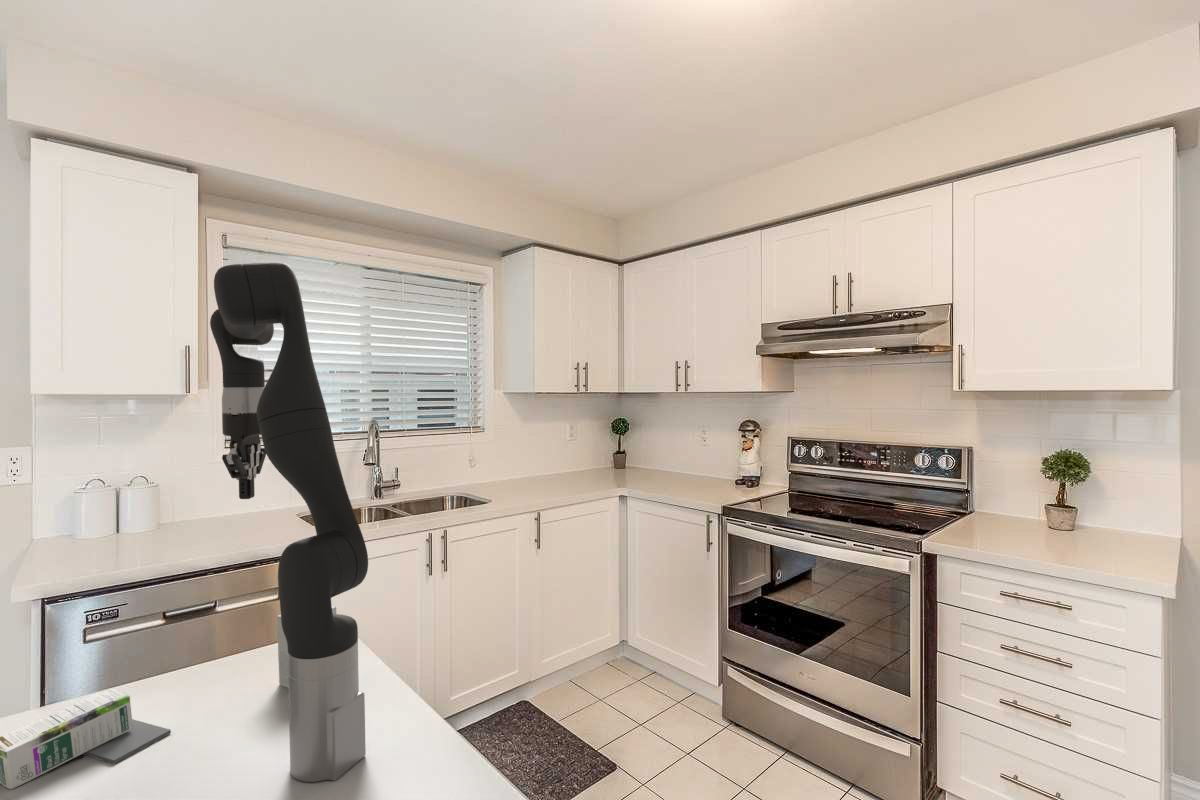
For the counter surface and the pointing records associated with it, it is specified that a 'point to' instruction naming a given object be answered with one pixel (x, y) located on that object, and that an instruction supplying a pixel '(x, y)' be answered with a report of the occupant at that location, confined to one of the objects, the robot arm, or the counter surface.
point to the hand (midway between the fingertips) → (246, 498)
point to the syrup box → (63, 736)
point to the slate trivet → (128, 742)
